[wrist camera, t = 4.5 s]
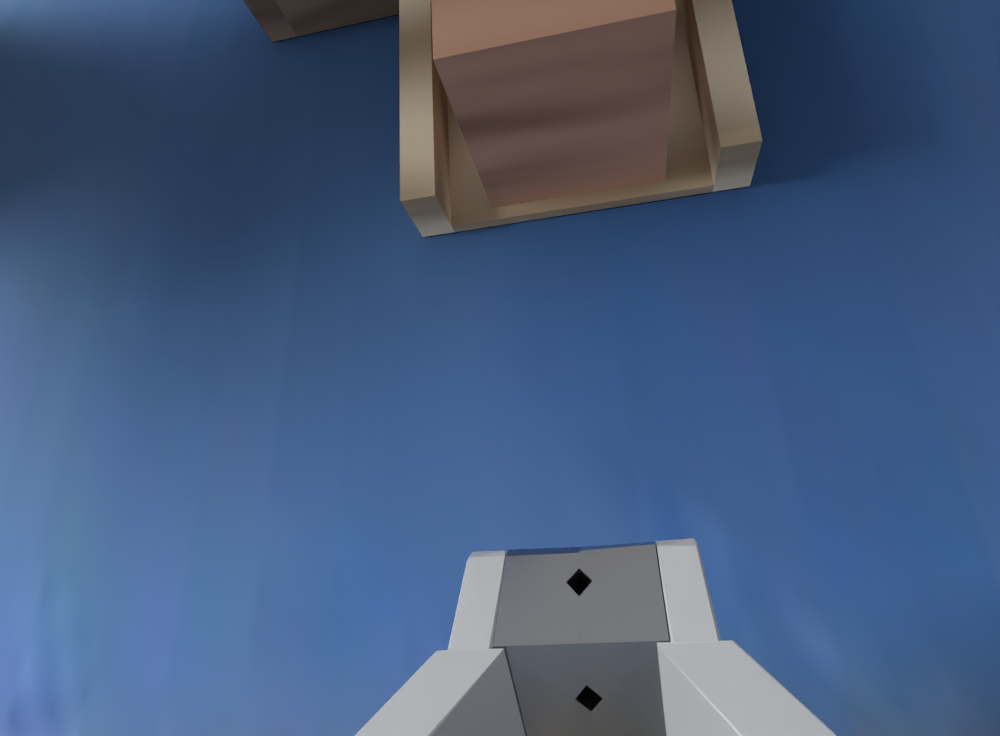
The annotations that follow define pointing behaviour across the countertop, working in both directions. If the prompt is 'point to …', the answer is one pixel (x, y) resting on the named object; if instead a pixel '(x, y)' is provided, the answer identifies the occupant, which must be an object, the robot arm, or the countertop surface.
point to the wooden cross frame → (465, 206)
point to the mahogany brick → (558, 91)
